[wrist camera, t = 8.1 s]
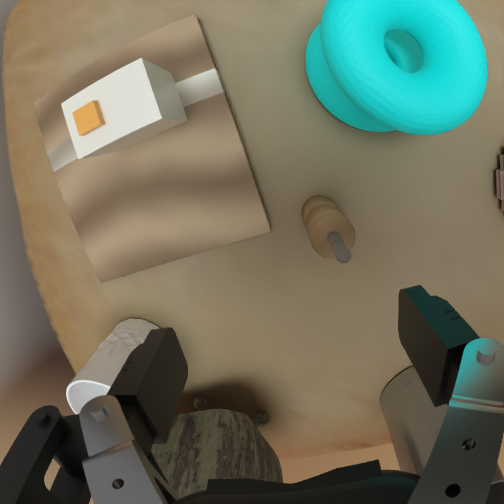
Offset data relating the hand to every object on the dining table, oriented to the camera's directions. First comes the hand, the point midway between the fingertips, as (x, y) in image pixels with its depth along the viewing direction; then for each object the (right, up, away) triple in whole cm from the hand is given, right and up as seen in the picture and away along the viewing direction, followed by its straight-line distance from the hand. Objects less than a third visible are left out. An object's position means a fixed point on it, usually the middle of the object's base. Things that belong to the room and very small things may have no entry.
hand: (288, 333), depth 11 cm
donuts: (+8, +17, +10) cm, 21 cm away
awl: (+4, +6, +14) cm, 16 cm away
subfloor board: (-10, +11, +13) cm, 20 cm away
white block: (-9, +13, +11) cm, 19 cm away
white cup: (-12, -7, +20) cm, 25 cm away
